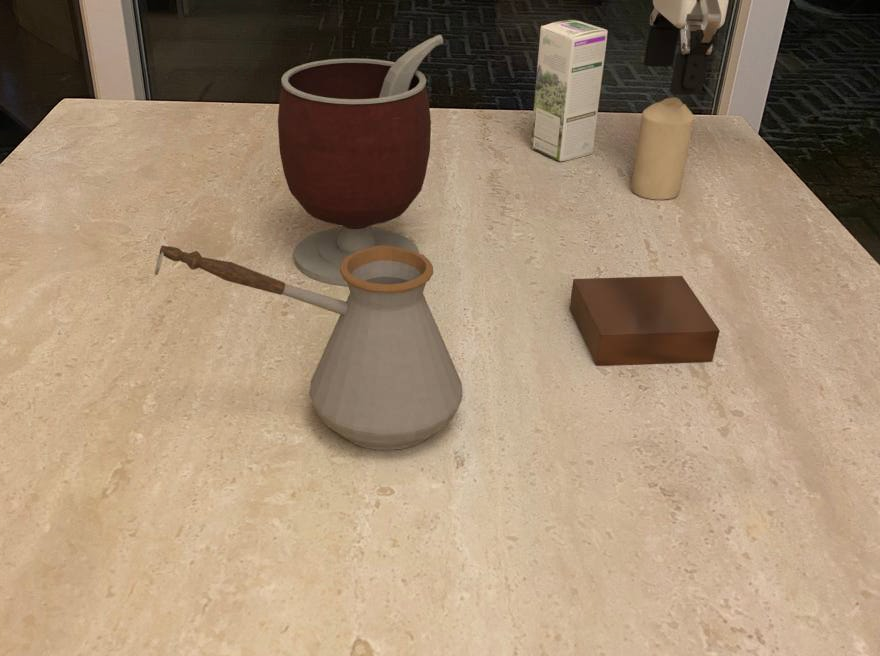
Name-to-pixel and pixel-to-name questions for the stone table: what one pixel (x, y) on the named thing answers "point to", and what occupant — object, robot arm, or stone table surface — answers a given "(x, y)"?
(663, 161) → the candle
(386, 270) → the coffee pot
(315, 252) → the mate gourd
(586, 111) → the syrup box
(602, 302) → the walnut block
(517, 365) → the stone table surface
